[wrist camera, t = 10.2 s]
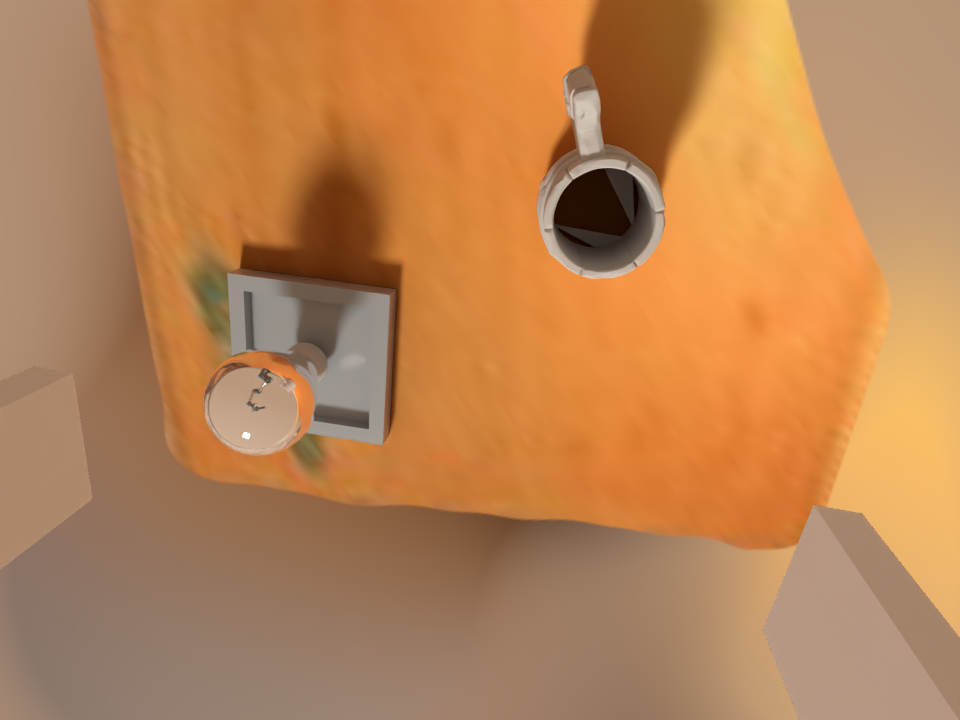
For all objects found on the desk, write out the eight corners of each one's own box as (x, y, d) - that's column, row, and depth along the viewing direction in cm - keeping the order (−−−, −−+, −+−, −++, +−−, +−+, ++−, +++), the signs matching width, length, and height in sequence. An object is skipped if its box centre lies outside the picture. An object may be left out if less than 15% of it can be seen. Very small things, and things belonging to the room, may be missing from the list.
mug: (549, 269, 42) (545, 314, 30) (515, 93, 38) (496, 72, 27) (658, 247, 40) (696, 286, 29) (634, 61, 36) (666, 25, 25)
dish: (239, 268, 45) (227, 273, 43) (396, 289, 44) (389, 295, 42) (246, 412, 49) (235, 421, 48) (389, 434, 48) (382, 445, 46)
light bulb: (333, 413, 47) (263, 496, 36) (258, 369, 47) (163, 439, 36) (371, 345, 45) (307, 411, 33) (291, 297, 44) (200, 349, 33)
